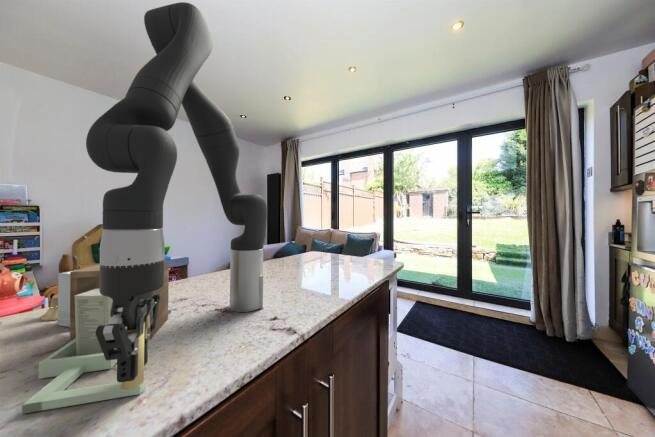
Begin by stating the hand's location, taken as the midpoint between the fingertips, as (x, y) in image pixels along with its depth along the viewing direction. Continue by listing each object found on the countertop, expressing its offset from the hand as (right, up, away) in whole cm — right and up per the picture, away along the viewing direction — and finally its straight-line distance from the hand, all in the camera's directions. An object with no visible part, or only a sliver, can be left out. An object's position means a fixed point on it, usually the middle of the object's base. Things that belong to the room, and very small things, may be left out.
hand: (133, 372), depth 36 cm
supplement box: (-31, -3, +24) cm, 39 cm away
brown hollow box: (-17, -3, +18) cm, 25 cm away
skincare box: (-14, -3, +10) cm, 17 cm away
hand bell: (-40, -2, +27) cm, 49 cm away
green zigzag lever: (-9, -3, +5) cm, 11 cm away
